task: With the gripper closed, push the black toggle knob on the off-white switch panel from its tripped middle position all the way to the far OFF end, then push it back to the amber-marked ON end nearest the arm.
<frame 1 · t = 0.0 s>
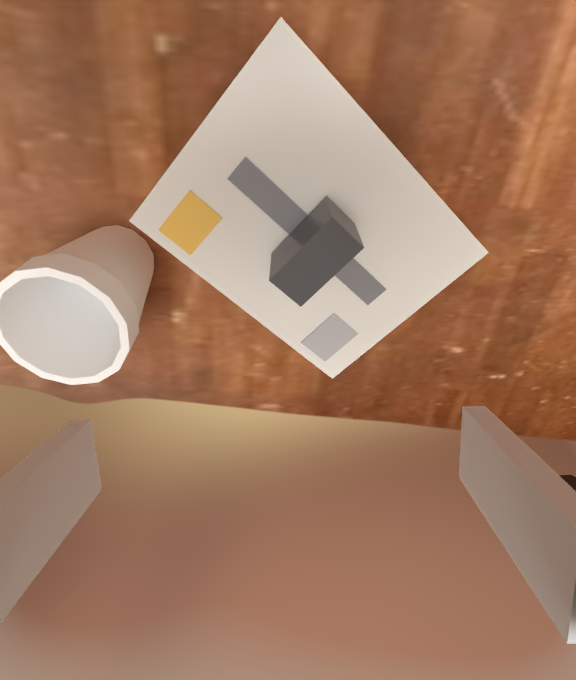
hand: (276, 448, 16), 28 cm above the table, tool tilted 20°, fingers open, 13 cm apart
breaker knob: (313, 250, 32), point 9 cm above the table, slide at 0.0 cm
foam cup: (121, 257, 42), on the table
switch panel: (309, 213, 39), on the table
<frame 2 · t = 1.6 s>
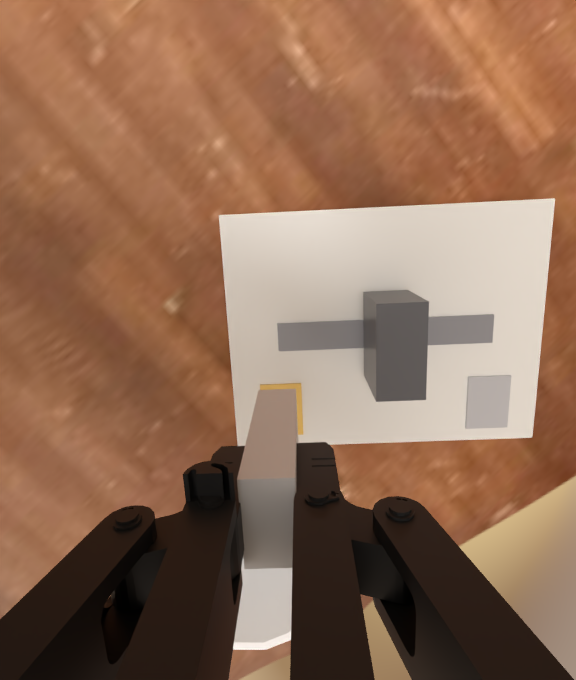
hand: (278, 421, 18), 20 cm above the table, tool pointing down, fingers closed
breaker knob: (392, 342, 29), point 9 cm above the table, slide at 0.0 cm
foam cup: (262, 478, 41), on the table
switch panel: (370, 316, 37), on the table
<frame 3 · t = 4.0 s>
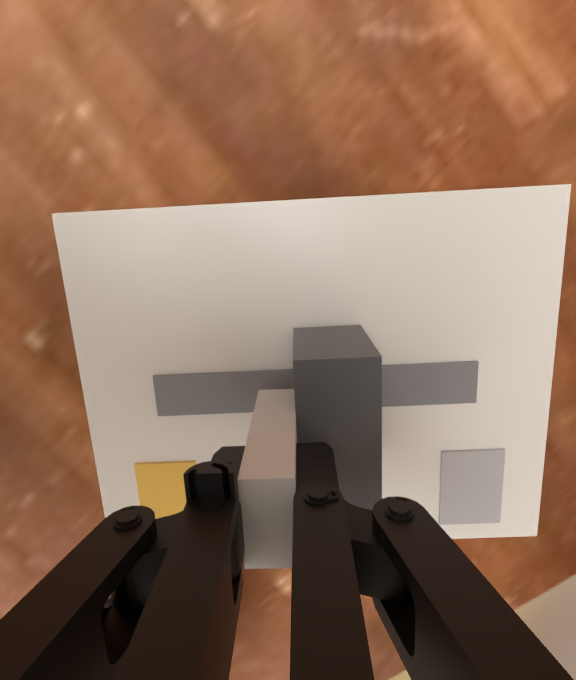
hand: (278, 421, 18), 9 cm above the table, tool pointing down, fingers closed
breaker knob: (333, 411, 18), point 9 cm above the table, slide at 0.7 cm, touching gripper
switch panel: (310, 353, 27), on the table
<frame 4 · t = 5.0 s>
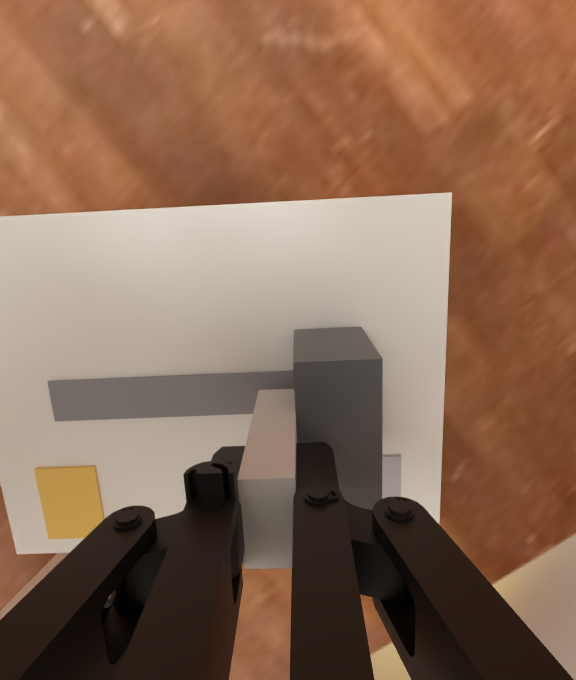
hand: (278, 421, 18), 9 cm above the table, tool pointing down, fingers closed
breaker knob: (333, 413, 18), point 9 cm above the table, slide at 5.6 cm, touching gripper
foam cup: (103, 569, 31), on the table
switch panel: (228, 358, 27), on the table
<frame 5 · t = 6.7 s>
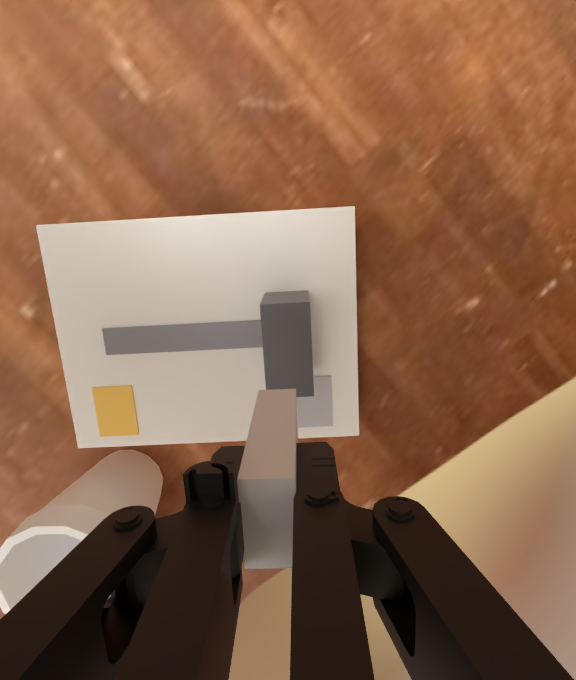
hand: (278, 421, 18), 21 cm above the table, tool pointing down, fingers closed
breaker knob: (288, 341, 30), point 9 cm above the table, slide at 6.0 cm
foam cup: (131, 478, 42), on the table
switch panel: (219, 319, 38), on the table
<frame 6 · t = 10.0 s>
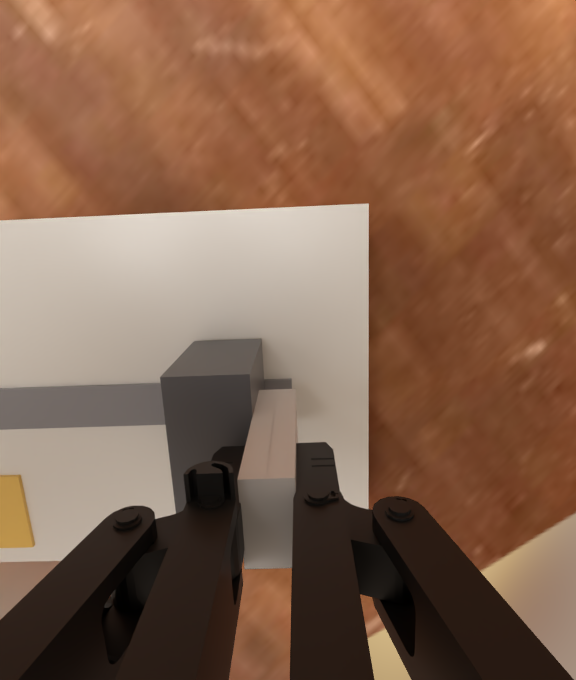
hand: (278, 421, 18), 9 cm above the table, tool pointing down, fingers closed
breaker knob: (223, 426, 18), point 9 cm above the table, slide at 4.8 cm, touching gripper
foam cup: (49, 577, 31), on the table
switch panel: (168, 365, 27), on the table
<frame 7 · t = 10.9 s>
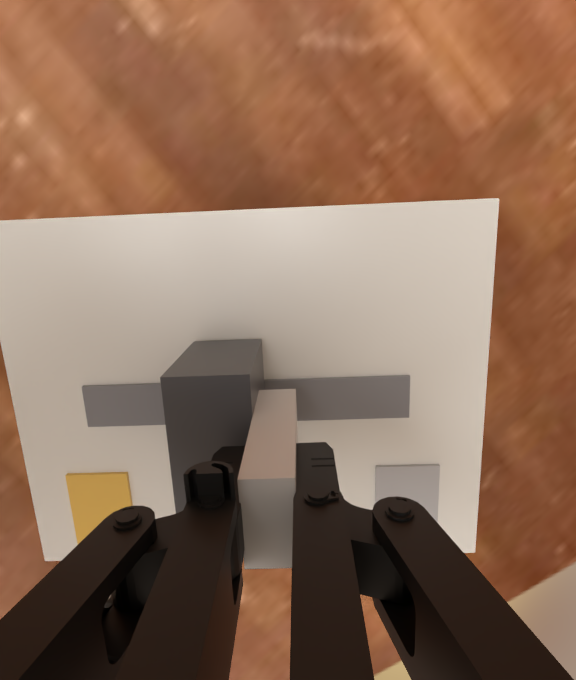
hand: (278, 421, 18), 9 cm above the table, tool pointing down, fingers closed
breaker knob: (223, 426, 18), point 9 cm above the table, slide at -0.6 cm, touching gripper
switch panel: (257, 363, 26), on the table
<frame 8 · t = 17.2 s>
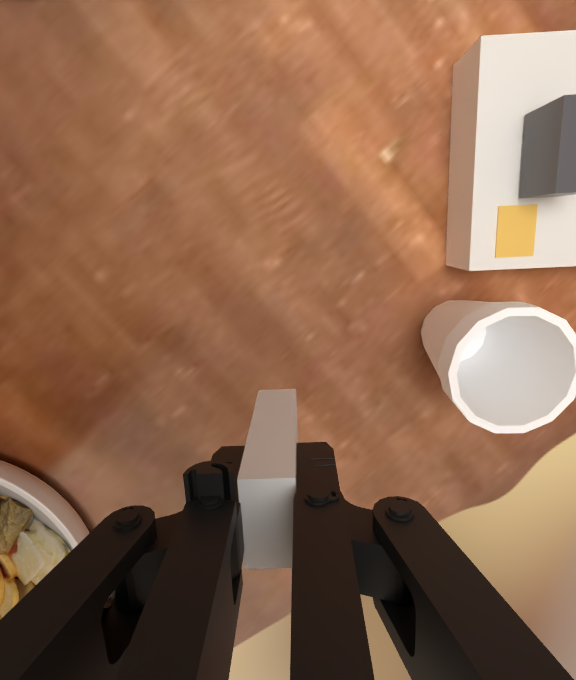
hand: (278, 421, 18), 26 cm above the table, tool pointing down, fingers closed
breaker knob: (560, 150, 31), point 9 cm above the table, slide at -6.0 cm
foam cup: (452, 330, 44), on the table
switch panel: (572, 164, 40), on the table
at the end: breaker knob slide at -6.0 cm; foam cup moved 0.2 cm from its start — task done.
